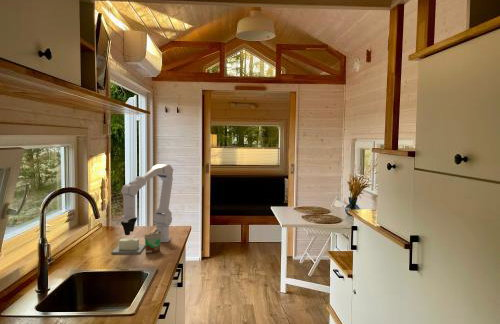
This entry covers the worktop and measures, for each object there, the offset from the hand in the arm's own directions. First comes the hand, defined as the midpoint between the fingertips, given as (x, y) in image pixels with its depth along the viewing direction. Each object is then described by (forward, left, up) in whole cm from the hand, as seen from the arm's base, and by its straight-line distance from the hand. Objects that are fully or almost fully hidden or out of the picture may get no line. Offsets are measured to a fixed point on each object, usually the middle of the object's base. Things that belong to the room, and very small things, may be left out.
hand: (129, 233), depth 193 cm
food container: (+3, +14, -9) cm, 17 cm away
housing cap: (0, 0, -8) cm, 8 cm away
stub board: (0, 0, -9) cm, 9 cm away
